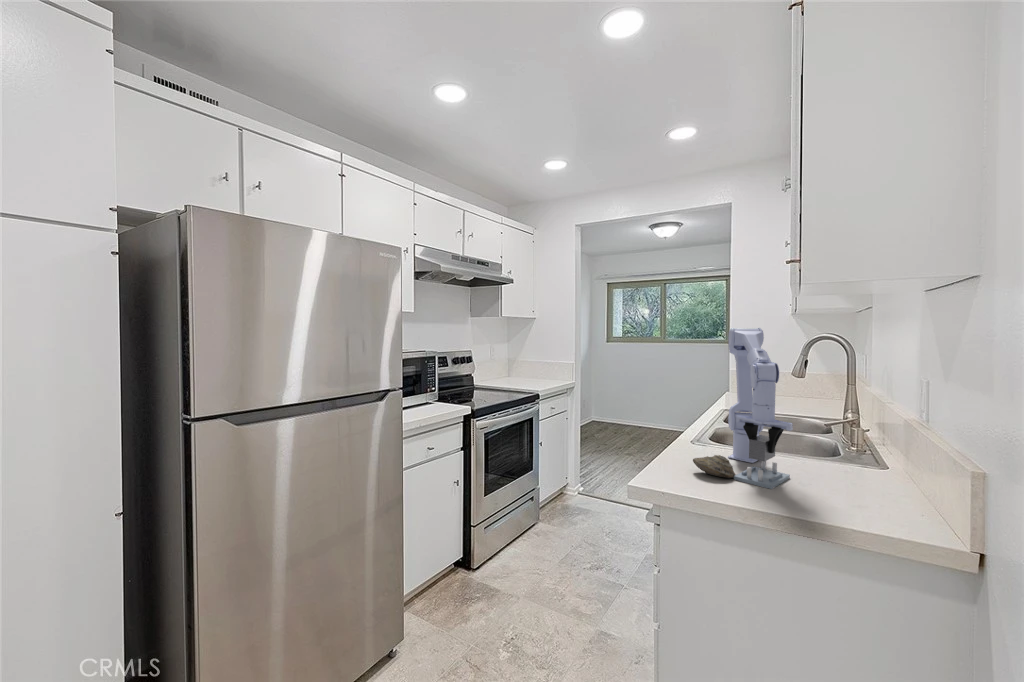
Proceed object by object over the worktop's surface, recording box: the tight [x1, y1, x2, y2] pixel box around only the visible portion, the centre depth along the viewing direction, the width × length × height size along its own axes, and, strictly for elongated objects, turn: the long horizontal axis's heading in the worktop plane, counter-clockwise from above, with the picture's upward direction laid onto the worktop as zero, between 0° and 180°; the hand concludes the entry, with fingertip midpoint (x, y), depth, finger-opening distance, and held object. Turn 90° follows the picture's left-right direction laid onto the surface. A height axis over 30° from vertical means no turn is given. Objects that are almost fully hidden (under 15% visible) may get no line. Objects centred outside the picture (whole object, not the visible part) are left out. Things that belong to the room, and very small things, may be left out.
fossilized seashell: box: [692, 454, 737, 479], centre depth 133 cm, size 11×11×7 cm
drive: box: [749, 434, 776, 462], centre depth 128 cm, size 8×4×6 cm, turn 131°
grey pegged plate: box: [733, 461, 791, 490], centre depth 129 cm, size 14×10×4 cm
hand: (762, 450), depth 129 cm, fingers closed on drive, 4 cm apart
